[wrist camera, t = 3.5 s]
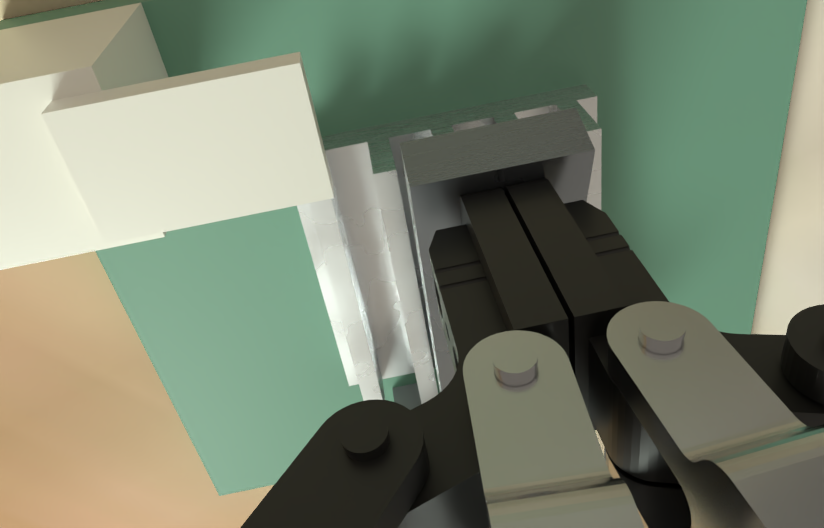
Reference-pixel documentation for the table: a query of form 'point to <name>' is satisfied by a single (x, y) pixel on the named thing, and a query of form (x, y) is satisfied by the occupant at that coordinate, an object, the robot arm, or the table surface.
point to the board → (435, 93)
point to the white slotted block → (398, 237)
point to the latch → (141, 138)
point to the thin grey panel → (487, 183)
